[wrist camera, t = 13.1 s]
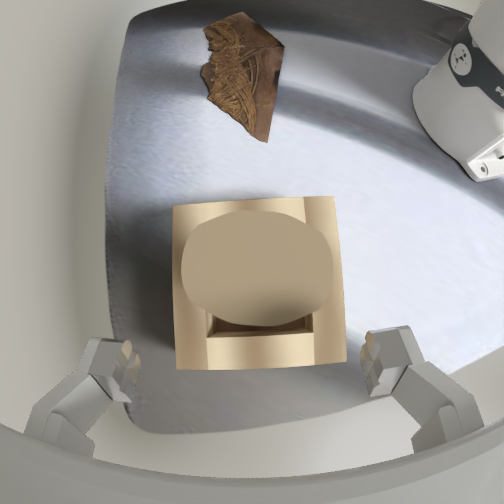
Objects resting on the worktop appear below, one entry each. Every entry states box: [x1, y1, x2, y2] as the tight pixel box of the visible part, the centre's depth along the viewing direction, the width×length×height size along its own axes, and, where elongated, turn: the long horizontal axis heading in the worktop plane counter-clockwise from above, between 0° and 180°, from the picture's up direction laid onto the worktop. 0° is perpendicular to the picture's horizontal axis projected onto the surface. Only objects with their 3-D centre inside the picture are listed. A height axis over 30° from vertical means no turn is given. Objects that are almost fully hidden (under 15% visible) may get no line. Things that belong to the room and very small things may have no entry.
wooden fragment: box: [201, 12, 284, 143], centre depth 33 cm, size 26×11×1 cm, turn 5°
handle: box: [181, 210, 333, 326], centre depth 20 cm, size 5×6×15 cm
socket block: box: [172, 196, 346, 370], centre depth 25 cm, size 13×13×6 cm
